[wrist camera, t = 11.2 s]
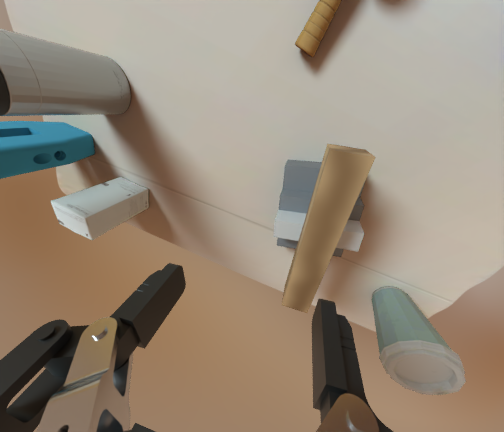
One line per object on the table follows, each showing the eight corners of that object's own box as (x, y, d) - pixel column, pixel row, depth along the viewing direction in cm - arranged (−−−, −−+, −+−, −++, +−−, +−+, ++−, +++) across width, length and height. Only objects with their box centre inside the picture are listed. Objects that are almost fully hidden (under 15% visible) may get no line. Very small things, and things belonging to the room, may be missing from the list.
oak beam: (284, 285, 34) (281, 305, 30) (327, 143, 21) (330, 149, 18) (307, 292, 33) (306, 313, 29) (365, 149, 21) (375, 157, 17)
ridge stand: (279, 234, 41) (270, 267, 33) (287, 159, 34) (278, 177, 25) (338, 244, 39) (345, 283, 30) (362, 165, 31) (381, 187, 22)
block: (98, 137, 43) (-42, 154, 26) (101, 158, 45) (-24, 186, 28) (54, 118, 44) (-109, 122, 27) (59, 140, 46) (-86, 156, 29)
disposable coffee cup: (352, 289, 43) (368, 363, 30) (402, 270, 37) (448, 350, 25) (380, 317, 45) (406, 399, 32) (432, 303, 39) (489, 395, 26)
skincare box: (149, 188, 46) (87, 217, 33) (149, 208, 49) (92, 242, 36) (119, 175, 46) (47, 199, 34) (121, 196, 50) (56, 225, 37)
